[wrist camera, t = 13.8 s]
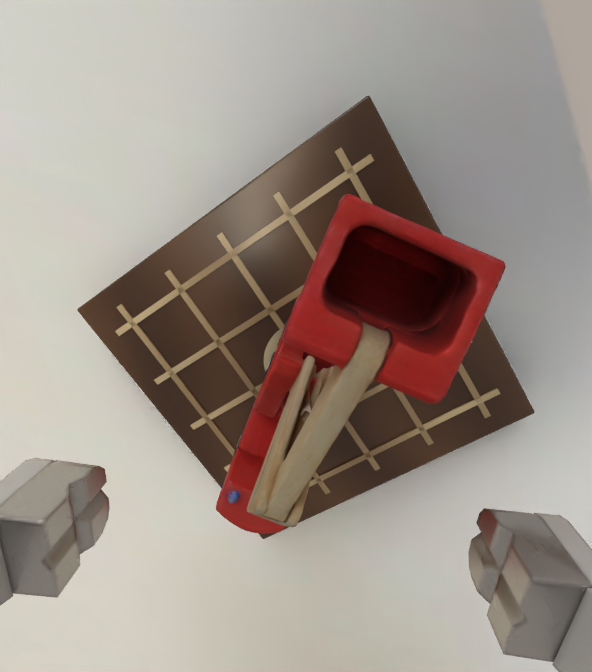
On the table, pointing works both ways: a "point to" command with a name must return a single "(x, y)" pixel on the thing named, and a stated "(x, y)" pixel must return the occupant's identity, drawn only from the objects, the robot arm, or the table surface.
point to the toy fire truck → (354, 350)
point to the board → (275, 309)
